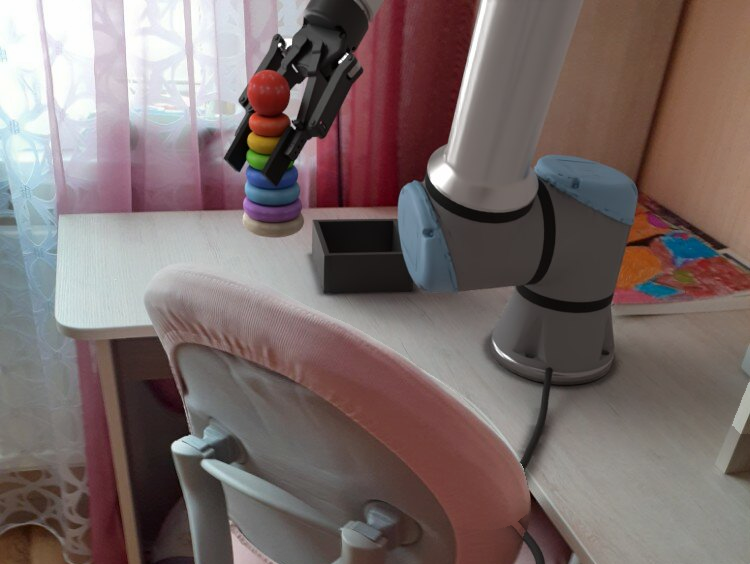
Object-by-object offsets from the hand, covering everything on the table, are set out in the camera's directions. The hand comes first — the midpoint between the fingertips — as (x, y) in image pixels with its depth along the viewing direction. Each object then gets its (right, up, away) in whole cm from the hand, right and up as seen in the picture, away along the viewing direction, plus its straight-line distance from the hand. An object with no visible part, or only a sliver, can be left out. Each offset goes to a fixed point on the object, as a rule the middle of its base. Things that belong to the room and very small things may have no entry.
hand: (250, 172), depth 103 cm
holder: (+13, -7, +19) cm, 24 cm away
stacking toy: (+2, -5, +7) cm, 9 cm away
